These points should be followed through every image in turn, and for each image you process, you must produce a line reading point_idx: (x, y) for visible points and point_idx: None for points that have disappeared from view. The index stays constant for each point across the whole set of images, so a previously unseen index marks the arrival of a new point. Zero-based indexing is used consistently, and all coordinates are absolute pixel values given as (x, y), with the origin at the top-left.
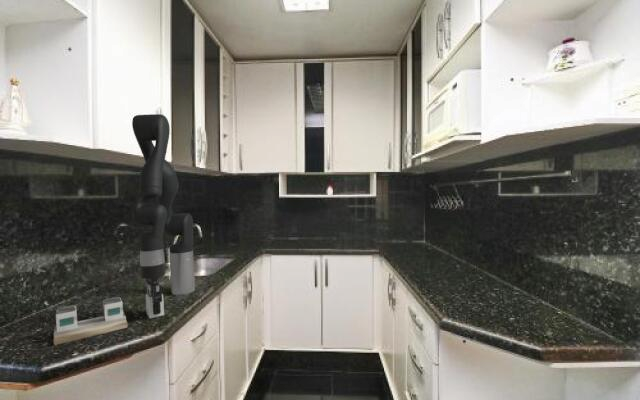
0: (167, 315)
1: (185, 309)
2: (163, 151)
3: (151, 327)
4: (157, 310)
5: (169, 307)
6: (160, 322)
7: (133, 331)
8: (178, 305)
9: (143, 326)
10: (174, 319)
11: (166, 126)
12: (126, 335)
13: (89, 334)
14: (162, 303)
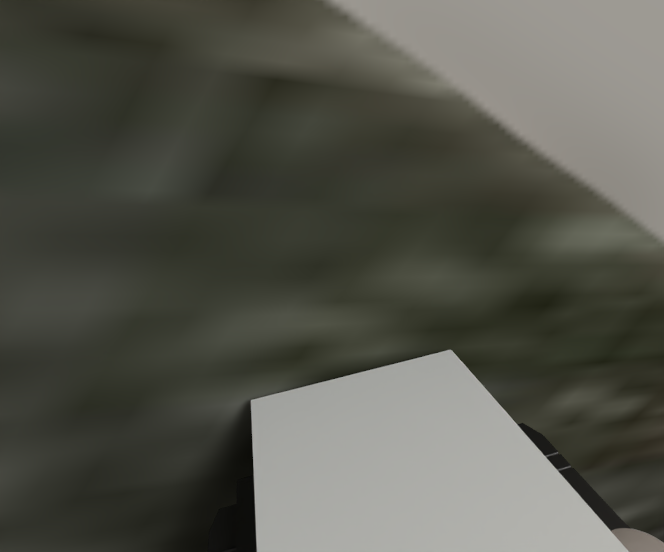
0: (455, 311)
1: (364, 59)
2: None
3: (660, 417)
4: None
5: (107, 297)
6: (608, 363)
7: (629, 514)
8: (51, 153)
9: (588, 475)
10: (640, 237)
11: None
12: (661, 535)
13: None
14: (548, 478)
